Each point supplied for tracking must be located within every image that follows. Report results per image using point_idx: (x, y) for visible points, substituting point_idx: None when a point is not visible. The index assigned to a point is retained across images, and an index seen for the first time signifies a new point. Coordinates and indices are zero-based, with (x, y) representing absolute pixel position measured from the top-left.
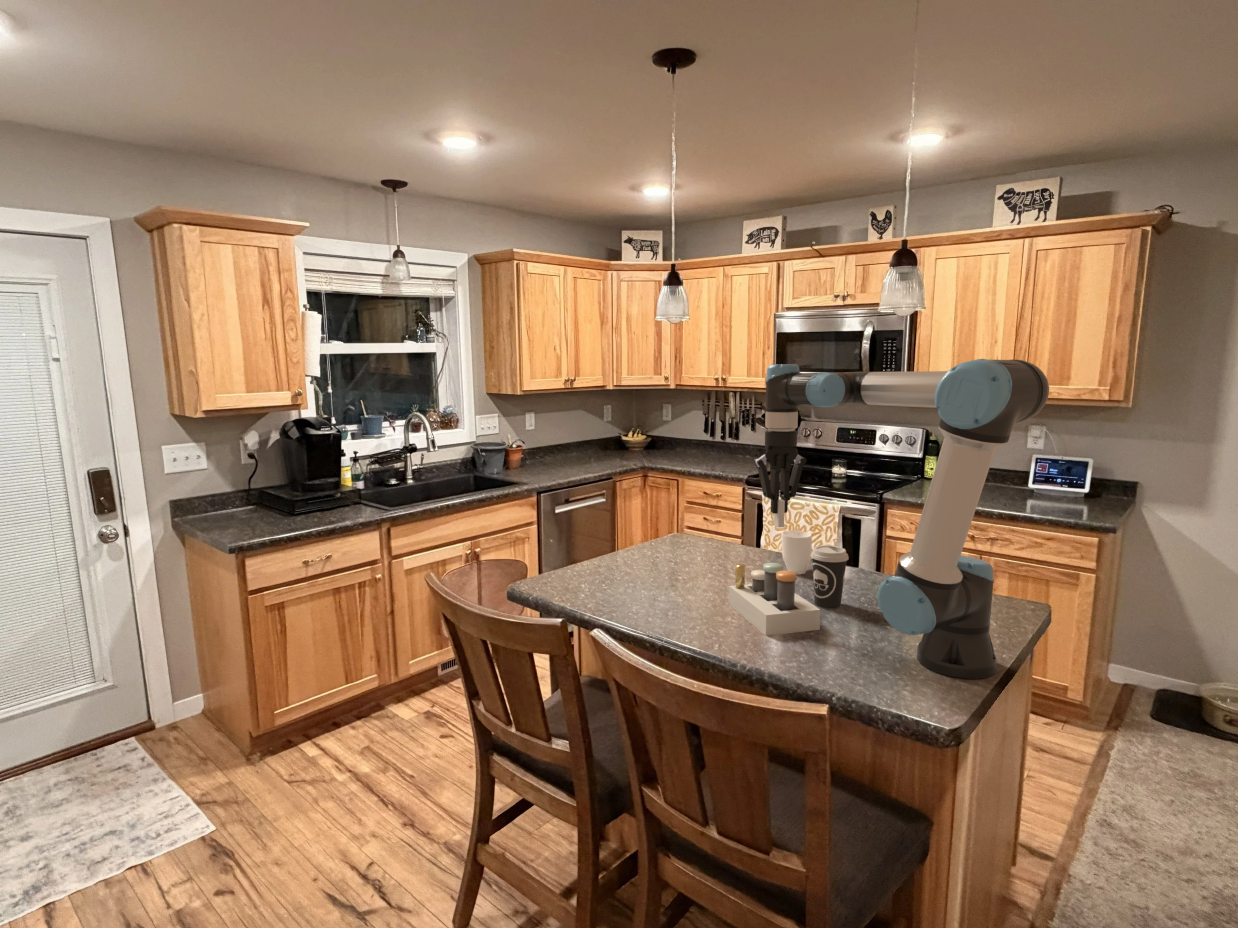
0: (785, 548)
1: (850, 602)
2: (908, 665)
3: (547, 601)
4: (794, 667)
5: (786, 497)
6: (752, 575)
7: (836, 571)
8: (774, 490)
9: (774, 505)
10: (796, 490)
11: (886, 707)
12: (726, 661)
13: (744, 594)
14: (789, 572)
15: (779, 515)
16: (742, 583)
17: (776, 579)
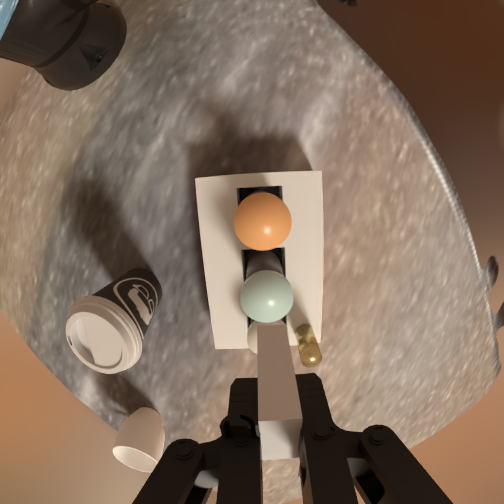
0: (159, 444)
1: None
2: (142, 37)
3: (496, 347)
4: (314, 50)
5: (245, 438)
6: (288, 333)
7: (106, 291)
8: (350, 477)
9: (319, 404)
10: (155, 472)
11: None
12: (403, 99)
13: (313, 294)
14: (249, 232)
15: (286, 358)
16: (304, 330)
17: (265, 267)
